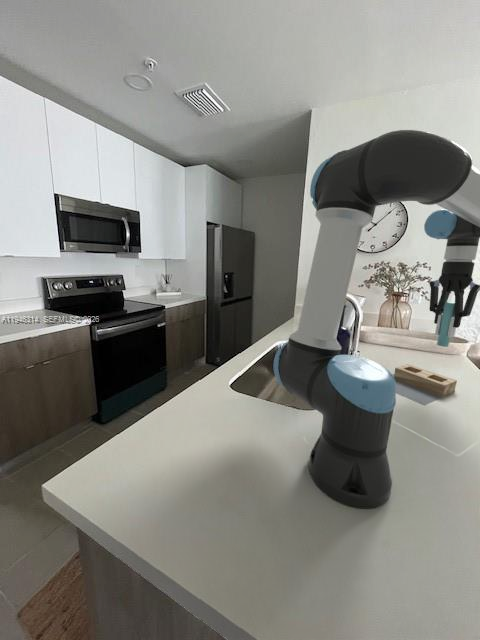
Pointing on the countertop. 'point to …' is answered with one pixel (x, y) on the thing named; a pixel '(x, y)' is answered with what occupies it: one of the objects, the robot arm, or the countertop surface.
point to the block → (425, 380)
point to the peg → (446, 324)
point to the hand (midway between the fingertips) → (444, 335)
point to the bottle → (344, 335)
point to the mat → (415, 393)
